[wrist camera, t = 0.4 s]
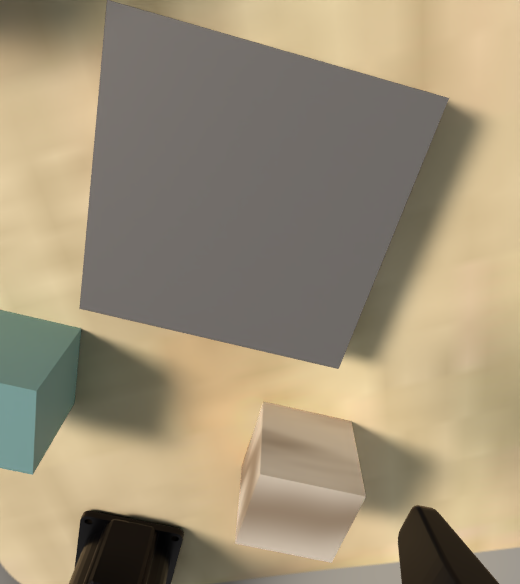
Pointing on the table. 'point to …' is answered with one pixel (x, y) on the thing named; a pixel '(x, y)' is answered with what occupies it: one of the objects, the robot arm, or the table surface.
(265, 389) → the table surface
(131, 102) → the base board
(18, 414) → the teal block
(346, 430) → the cream block
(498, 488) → the table surface
